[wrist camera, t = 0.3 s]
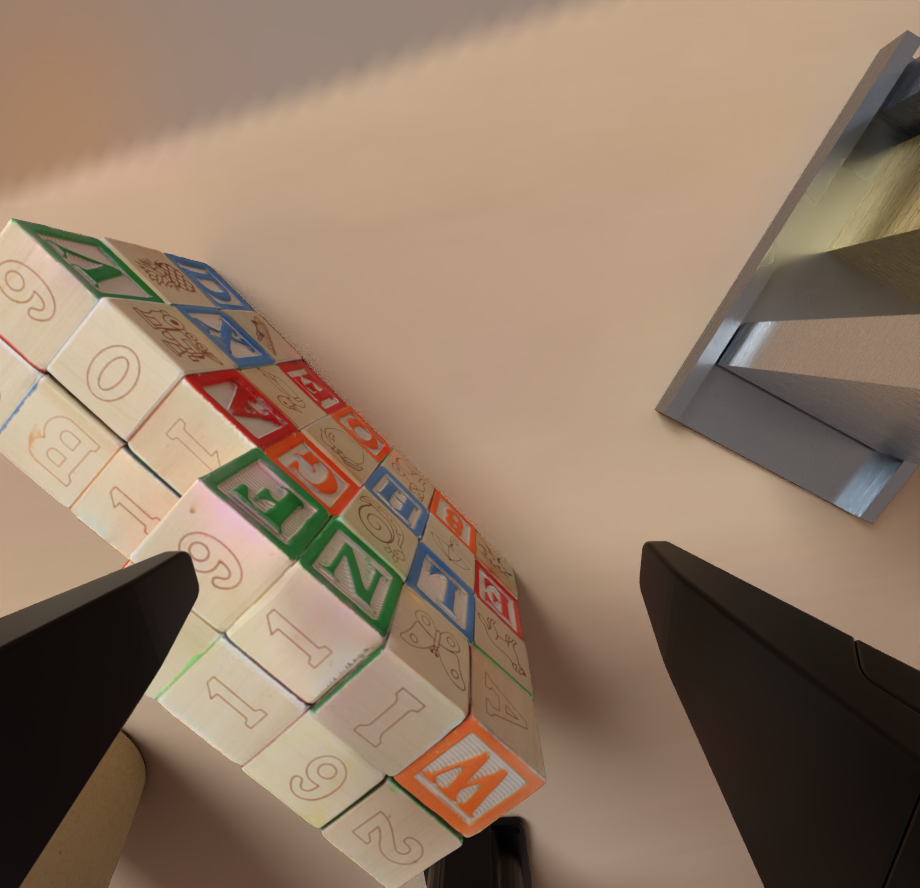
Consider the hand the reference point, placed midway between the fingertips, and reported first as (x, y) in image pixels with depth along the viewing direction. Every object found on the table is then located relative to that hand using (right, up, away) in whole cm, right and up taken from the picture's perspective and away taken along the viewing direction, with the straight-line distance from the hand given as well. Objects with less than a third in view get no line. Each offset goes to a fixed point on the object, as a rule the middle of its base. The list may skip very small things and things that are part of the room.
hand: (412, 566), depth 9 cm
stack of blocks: (-6, +1, +15) cm, 16 cm away
